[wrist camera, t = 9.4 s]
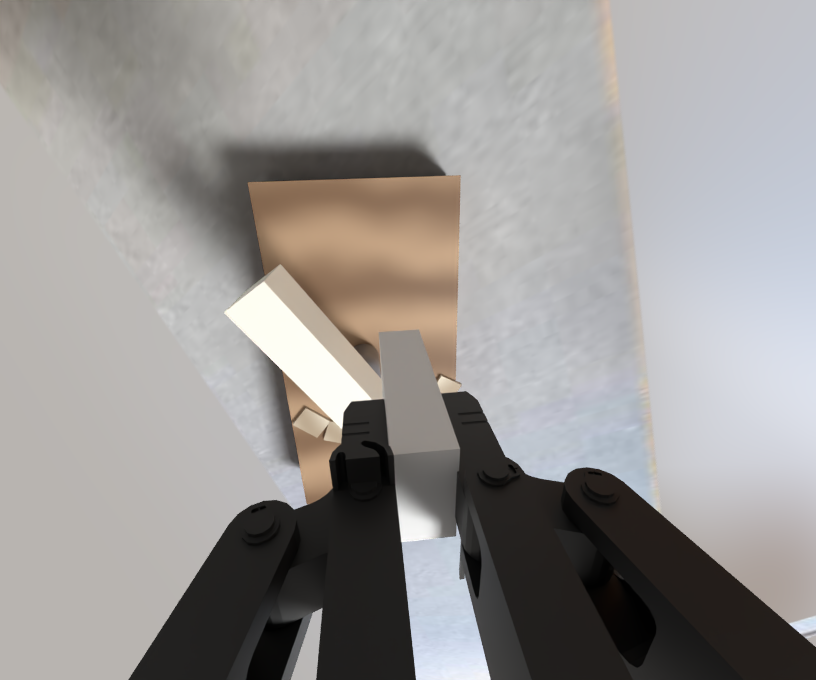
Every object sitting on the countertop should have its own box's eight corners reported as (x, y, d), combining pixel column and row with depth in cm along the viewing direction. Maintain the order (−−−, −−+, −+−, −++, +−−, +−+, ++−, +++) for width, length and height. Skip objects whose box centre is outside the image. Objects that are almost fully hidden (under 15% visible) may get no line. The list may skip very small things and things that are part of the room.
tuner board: (262, 181, 28) (246, 182, 24) (454, 175, 29) (468, 175, 25) (312, 473, 39) (306, 506, 35) (448, 459, 40) (458, 490, 36)
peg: (265, 272, 26) (223, 312, 18) (293, 249, 26) (263, 281, 18) (405, 427, 33) (419, 506, 25) (430, 411, 32) (451, 486, 25)
